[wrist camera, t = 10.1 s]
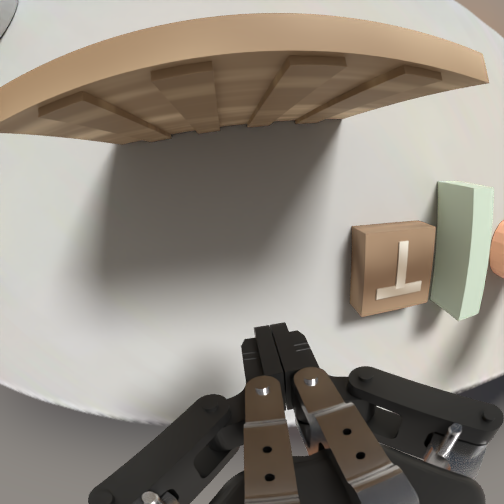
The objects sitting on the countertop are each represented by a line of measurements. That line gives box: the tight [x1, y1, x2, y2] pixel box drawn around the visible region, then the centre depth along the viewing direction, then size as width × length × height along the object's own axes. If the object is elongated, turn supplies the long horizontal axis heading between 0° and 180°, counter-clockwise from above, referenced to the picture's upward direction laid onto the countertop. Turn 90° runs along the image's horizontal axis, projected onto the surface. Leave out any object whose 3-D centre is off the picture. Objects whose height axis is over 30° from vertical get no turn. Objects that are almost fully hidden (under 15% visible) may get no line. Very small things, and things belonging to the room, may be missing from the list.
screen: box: [0, 13, 489, 145], centre depth 13 cm, size 2×17×15 cm, turn 97°
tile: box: [350, 221, 436, 317], centre depth 24 cm, size 7×7×3 cm
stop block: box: [430, 181, 494, 321], centre depth 22 cm, size 12×3×5 cm, turn 6°
